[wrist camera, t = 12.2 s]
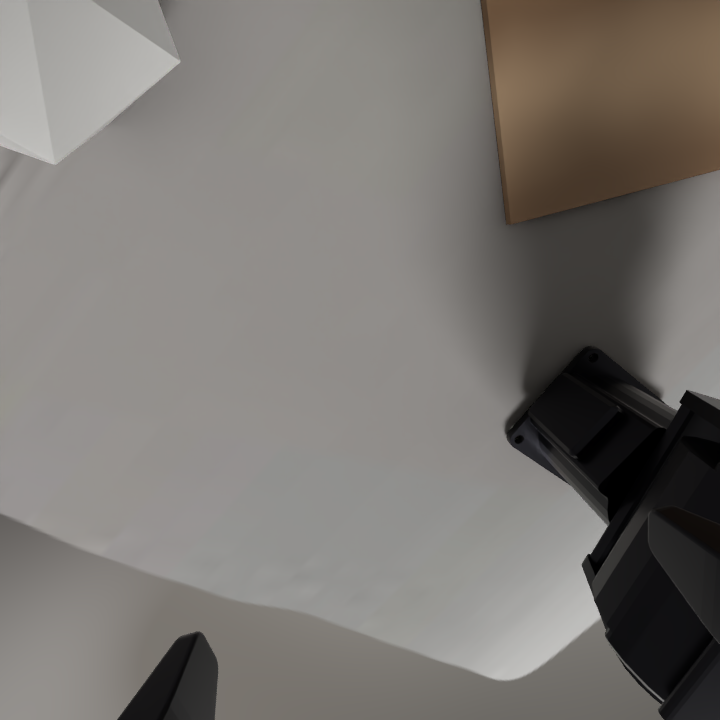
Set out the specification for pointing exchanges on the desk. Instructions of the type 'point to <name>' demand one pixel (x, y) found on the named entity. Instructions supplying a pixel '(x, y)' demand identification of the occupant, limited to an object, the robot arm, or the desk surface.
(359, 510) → the desk surface
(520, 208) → the pull board
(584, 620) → the desk surface
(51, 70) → the die
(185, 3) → the desk surface
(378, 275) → the desk surface
